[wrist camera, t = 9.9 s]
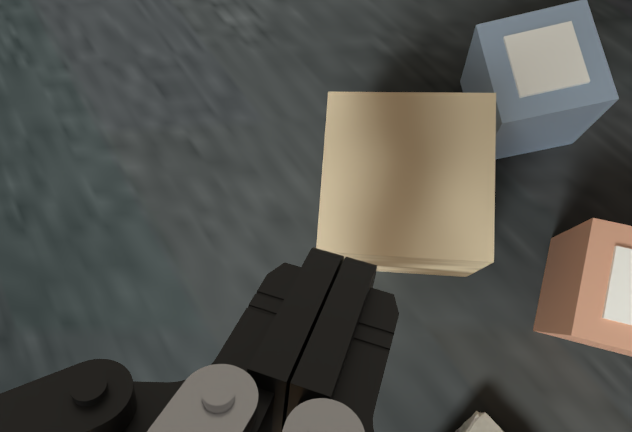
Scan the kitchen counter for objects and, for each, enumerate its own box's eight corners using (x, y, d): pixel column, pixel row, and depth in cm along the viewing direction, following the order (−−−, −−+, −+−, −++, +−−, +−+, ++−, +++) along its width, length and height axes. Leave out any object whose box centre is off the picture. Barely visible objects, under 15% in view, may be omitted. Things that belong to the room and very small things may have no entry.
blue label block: (548, 62, 29) (588, -5, 23) (572, 144, 28) (621, 96, 22) (459, 82, 30) (476, 22, 24) (480, 162, 28) (503, 121, 22)
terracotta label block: (652, 261, 26) (728, 245, 20) (636, 357, 25) (710, 371, 19) (551, 238, 27) (594, 216, 21) (532, 330, 26) (572, 335, 20)
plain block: (468, 152, 29) (496, 92, 21) (466, 276, 27) (494, 262, 20) (345, 149, 30) (328, 91, 22) (337, 268, 29) (316, 251, 21)
